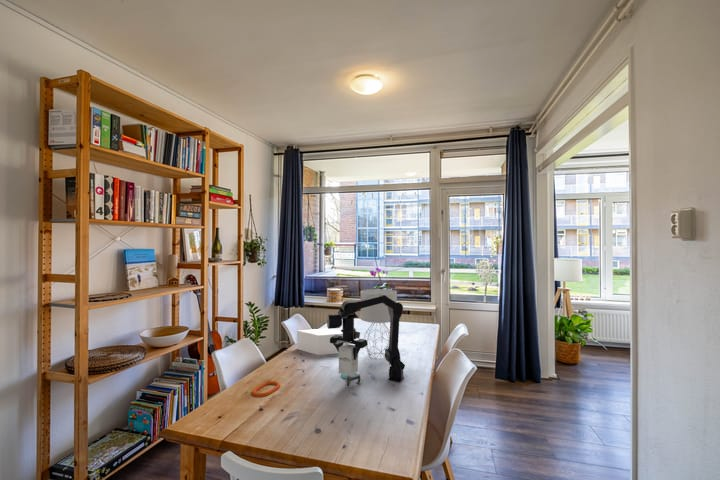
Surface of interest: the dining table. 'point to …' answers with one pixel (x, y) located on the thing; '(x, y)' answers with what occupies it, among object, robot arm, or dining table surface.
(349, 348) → the supplement box
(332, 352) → the block
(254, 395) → the orange oval ring
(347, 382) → the grey cabinet handle
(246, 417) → the dining table surface
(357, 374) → the teal round disc
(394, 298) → the table lamp
